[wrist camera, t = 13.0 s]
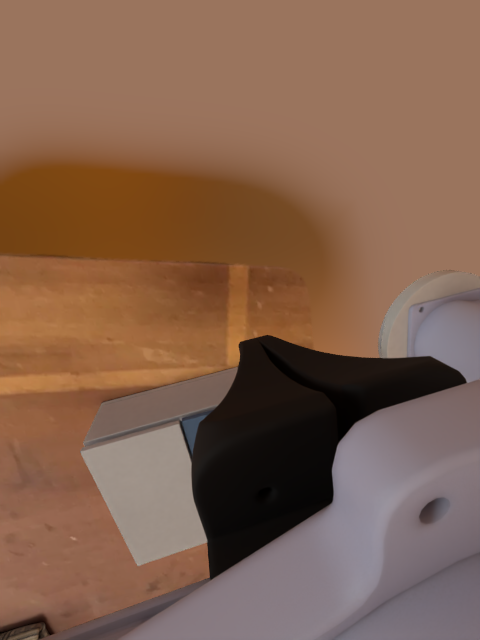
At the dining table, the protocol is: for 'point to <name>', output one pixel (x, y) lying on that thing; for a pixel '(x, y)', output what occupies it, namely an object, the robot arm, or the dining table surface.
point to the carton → (152, 463)
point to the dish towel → (26, 633)
